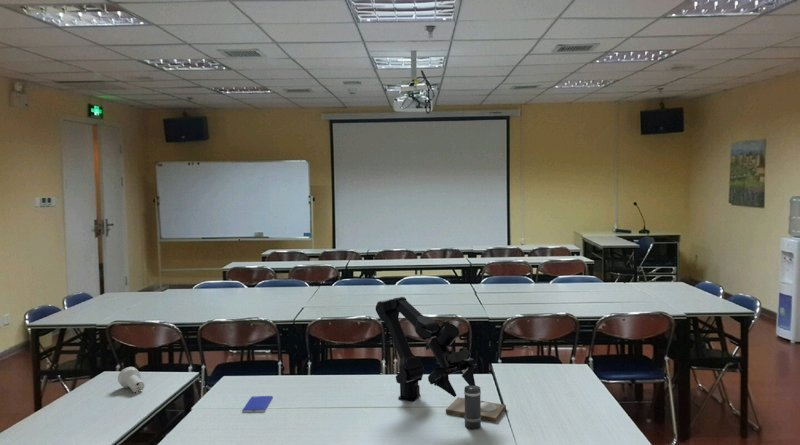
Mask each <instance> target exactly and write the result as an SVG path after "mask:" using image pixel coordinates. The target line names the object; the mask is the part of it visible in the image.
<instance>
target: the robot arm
mask: <svg viewBox="0 0 800 445" xmlns="http://www.w3.org/2000/svg"><path fill="white" fill-rule="evenodd" d="M375 312H376V315H377V316H378V318H379V320H381V321H382V322H383V324H386V326H387V329H388V332H389V335H390V336H391V339H392V341H393V344H394V346H395V350H396V352H397V354H398V357H399V365H398V369H399V372H398V374H396V376H395V380H396V384H398V385H399V392H400V393H399V395H400V396H398V398H397V399H398V400H403V401H409V402H415V401H416V400H417V399H419V398H420V396H421V391H420V390H421V389H420V388H421V386H420V384H419V381H420V382H421V381H422V380H423V376H424V372H425V369H424V364H423V362H422V360H421V357H420V356H419V355H415V354H414V353H413V352H412V349H411V346H410V345H409V341H408V340H407V337H406V334H405V332H404V330H403V328H402V325H401V322H400V321H399V320H400V319H399V317H400V314H401V315H402V316H403V317H404V318H405V319H406V320H407V321H408V322H409V323H411V324H412V325H413V327H414V331H415V333H416V334H417V336H418V337H419V338H420V339H421V340H422V341H426V340H429V339H431V340H429V341H426V346H425V350H426V351H427V350H430V351H431V353H432V354H433V356H434V358H435V361H434V363H435V365H439V366H440V367H437V368H434V369H433V370H432V372H431V373H429V375H428V376H427V379H428V383H429V384H430V385H434V386H435V387H436V386H437V387H438V388H440V389H441V390H443V391H445V392H446V393H447V394H450V396H452V397H454V398H456V397H457V393H456V391H455V389H454V387H453V385H452V384H451V381H450V379H449V375H452V374H455V373H460V374H462V375H461V377H462V378H463V379H464V381H465V382H466V383H467V384H468V386H469V385H475V386H477V385H476V380H475V374H474V371H475V368H476V366H477V365H478V363H477V361H476V360H475V358H472V357H471V358H468V357H469V356H470V352H469V349H468V348H467V347H466V346H464V347H461V348H459V351H454V350H453V349H450V348H449V346H451V345H452V344H453V343H454V342H455V341H456V339H457V338H458V337H460V329H459V328H458V326H456V324H453V323H450V322H449V320H446V321H443V323H441V325H440V324H439V323H438V322H437V321H436V320H434V319H433V318H431V317H427V316H425V315H423V314H422V313H421V312H420V311H419V310H417V309H416V307H414V306H413V305H412V304H411V303H410V302H408V301H407V298H406V297H405V296H399V297H394V298H391V299H390V298H389V299H384V300H380V301H377V303H376V305H375ZM462 360H464V361H462Z"/></svg>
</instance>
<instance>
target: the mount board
mask: <svg viewBox="0 0 800 445" xmlns="http://www.w3.org/2000/svg"><path fill="white" fill-rule="evenodd" d="M480 401H481V421H487V422H491V423H497V421H498V420H499V419H500V417H501V416H502V415H503V414H504V412H505V411H506V410H507V405H506V404H501V403H495V402H490V401H483V400H480ZM445 414H447V415H453V416H459V417H463V418H465V397H459V396H458V397H457V398H456V399H454V401H453V402H451V403H450V405H449V406H447V407H446V408H445Z"/></svg>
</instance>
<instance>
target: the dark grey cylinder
mask: <svg viewBox="0 0 800 445" xmlns="http://www.w3.org/2000/svg"><path fill="white" fill-rule="evenodd" d="M475 385H476V384H475ZM475 385H469V384H468V385H466V386H464V391H463V394H464V398H465V417H464V427H465V428H466V429H467V430H471V431H472V430H473V431H475V430H479V429H480V428H482V424H481V422H482V420H481V401H482V400H481V393H482V391H481V387H480V386H478V385H476V386H475Z"/></svg>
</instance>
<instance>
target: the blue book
mask: <svg viewBox="0 0 800 445" xmlns="http://www.w3.org/2000/svg"><path fill="white" fill-rule="evenodd" d="M273 398H274V396H272V395H261V396H260V395H257V396H254V395H253V396H251V397H250V398H249V399H248V401H247V402H246V404H245V406H244V407H243V408H242V410H241V412H242V413H266V411H267V409H268V408H269V406H270V404H271V403H272V401H273Z"/></svg>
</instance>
